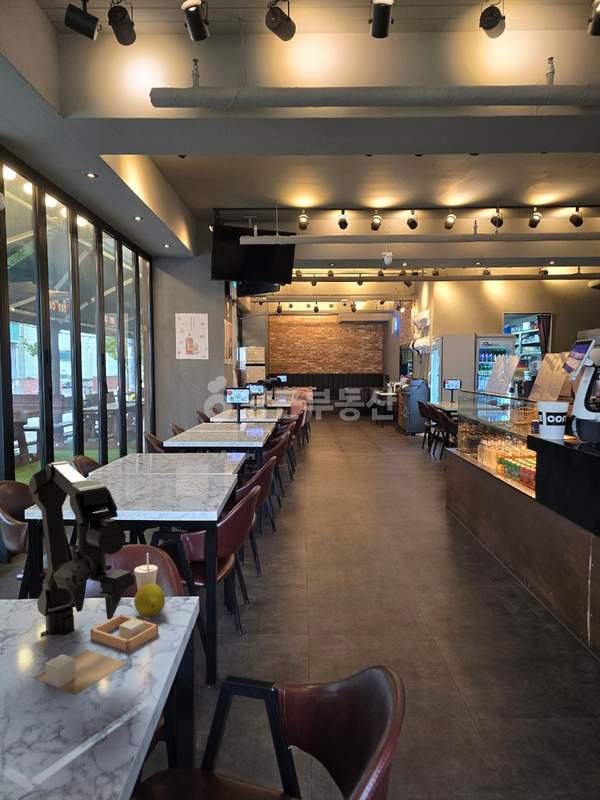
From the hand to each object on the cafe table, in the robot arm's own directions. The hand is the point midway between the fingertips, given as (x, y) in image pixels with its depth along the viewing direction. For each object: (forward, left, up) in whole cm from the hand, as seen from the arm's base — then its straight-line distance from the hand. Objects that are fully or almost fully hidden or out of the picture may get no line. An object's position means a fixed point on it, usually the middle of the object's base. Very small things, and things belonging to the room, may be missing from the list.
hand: (94, 614), depth 117 cm
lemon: (-8, +24, -11) cm, 27 cm away
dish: (-3, +11, -11) cm, 16 cm away
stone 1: (0, -9, -10) cm, 13 cm away
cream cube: (-1, +11, -11) cm, 15 cm away
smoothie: (-15, +29, -11) cm, 35 cm away
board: (0, -4, -11) cm, 12 cm away
